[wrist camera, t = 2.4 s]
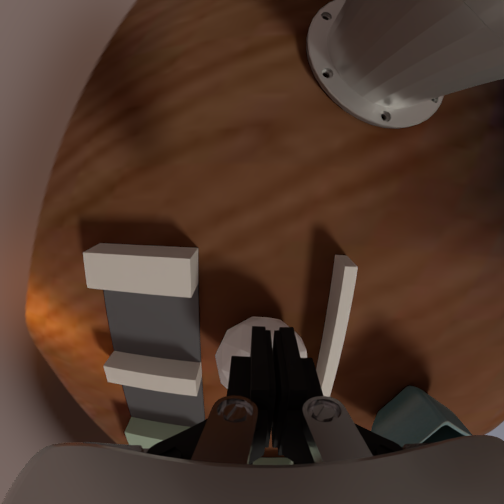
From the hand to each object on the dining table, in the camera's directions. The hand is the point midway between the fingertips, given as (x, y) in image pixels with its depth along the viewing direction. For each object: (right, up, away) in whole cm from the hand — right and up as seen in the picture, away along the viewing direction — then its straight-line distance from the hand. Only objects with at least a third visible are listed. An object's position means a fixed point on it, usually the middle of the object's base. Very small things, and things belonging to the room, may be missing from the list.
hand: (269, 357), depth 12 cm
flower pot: (+17, -14, +17) cm, 28 cm away
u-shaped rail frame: (-4, -9, +16) cm, 19 cm away
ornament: (0, -3, +14) cm, 15 cm away
